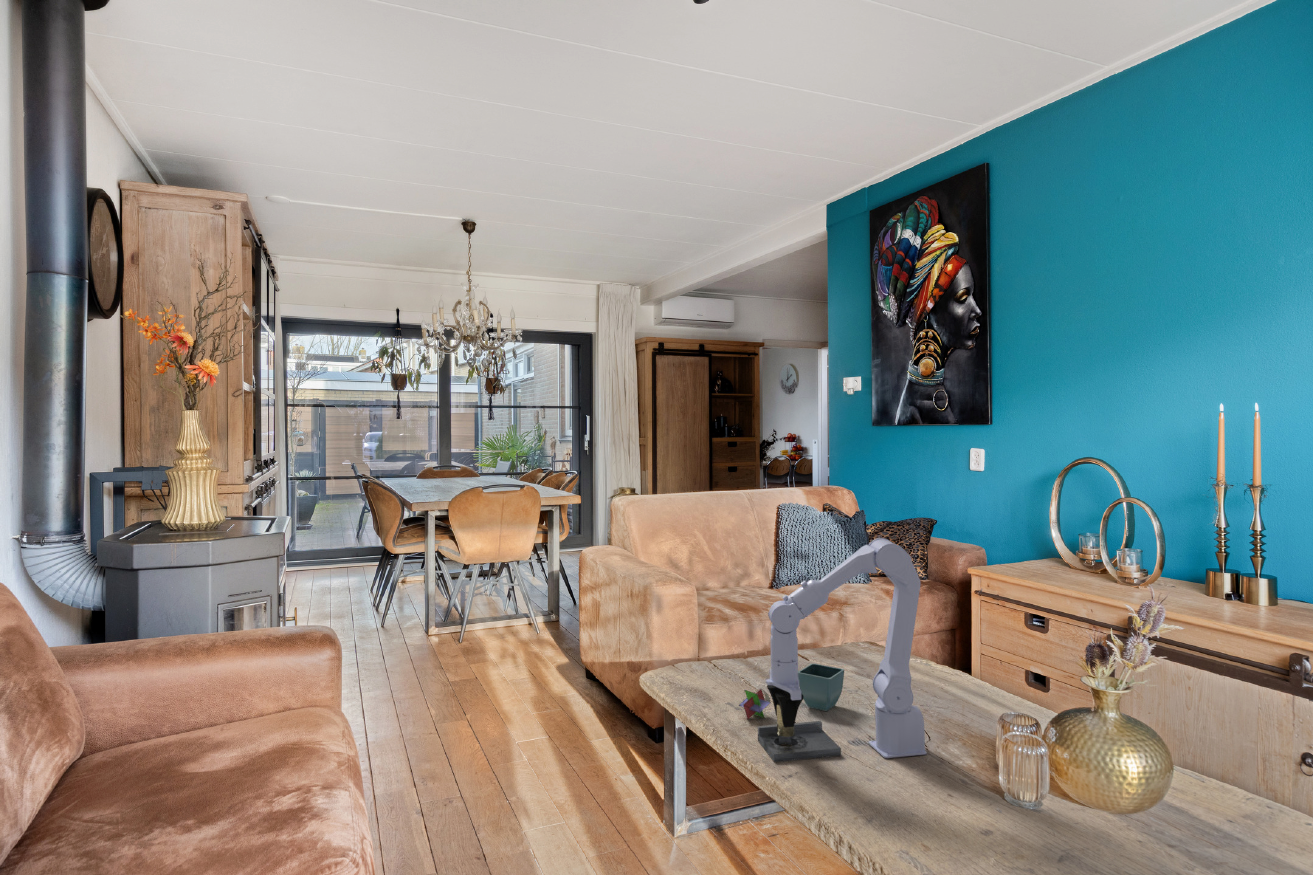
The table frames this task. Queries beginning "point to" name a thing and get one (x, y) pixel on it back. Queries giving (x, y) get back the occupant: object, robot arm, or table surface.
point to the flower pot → (821, 685)
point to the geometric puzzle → (755, 703)
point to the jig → (798, 742)
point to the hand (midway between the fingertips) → (785, 722)
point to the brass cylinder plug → (780, 728)
